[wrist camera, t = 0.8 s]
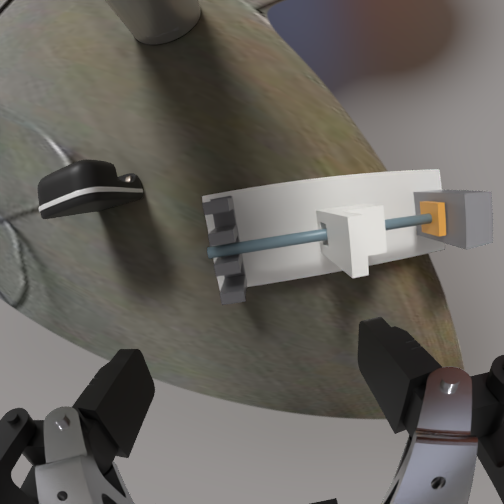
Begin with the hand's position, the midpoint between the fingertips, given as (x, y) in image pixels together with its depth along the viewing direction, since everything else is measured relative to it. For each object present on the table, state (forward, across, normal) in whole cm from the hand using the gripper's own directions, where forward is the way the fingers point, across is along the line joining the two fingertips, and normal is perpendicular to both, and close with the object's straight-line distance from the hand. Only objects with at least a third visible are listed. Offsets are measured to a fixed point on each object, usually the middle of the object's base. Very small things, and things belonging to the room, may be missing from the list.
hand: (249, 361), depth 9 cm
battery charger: (+21, +14, -9) cm, 27 cm away
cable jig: (+21, -10, -1) cm, 23 cm away
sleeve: (+17, -9, -1) cm, 19 cm away
